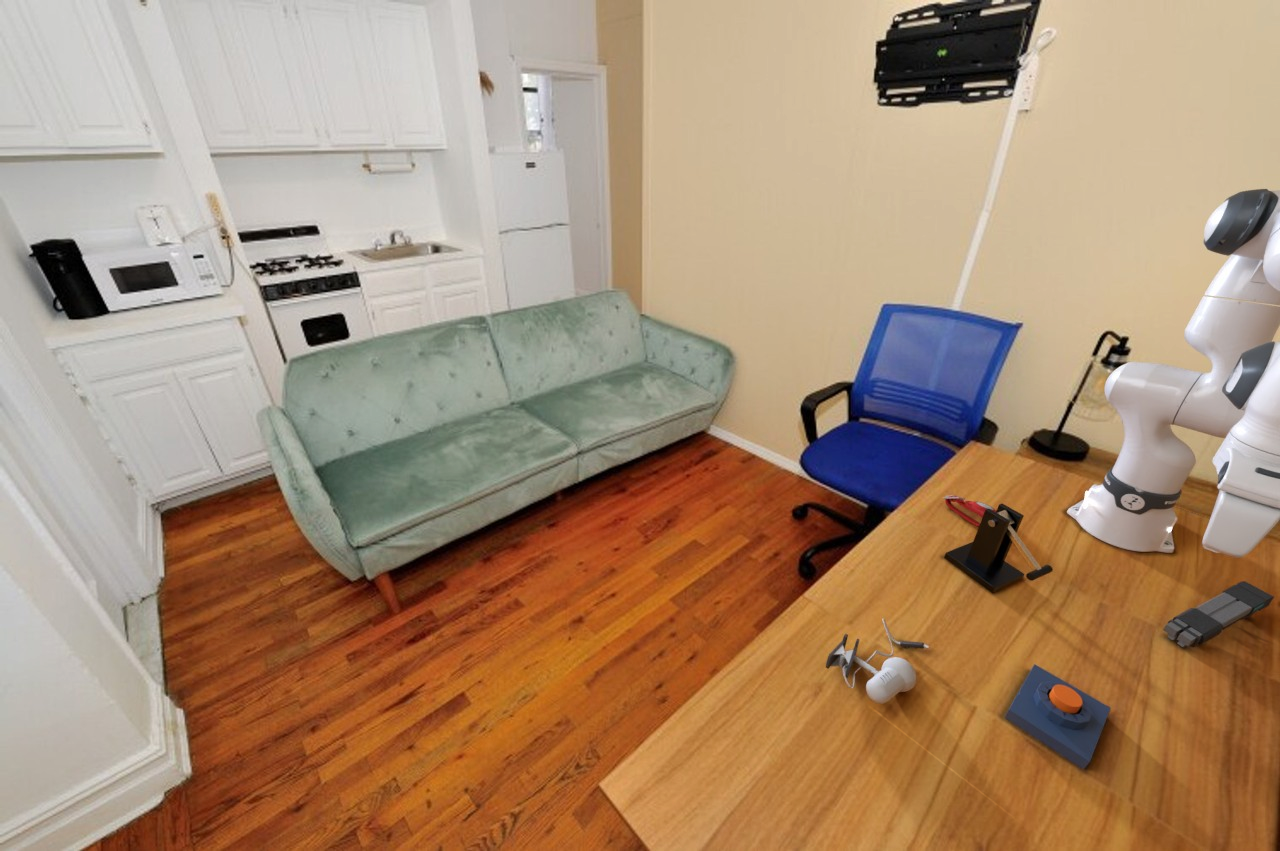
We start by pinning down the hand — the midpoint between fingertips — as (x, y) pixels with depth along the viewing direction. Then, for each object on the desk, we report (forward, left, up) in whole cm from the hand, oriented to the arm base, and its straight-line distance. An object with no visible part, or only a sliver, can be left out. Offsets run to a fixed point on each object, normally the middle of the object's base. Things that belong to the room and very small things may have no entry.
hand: (1212, 546), depth 70 cm
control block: (+16, -5, -29) cm, 33 cm away
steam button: (+16, -5, -25) cm, 30 cm away
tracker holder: (-28, -33, -29) cm, 53 cm away
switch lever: (-9, -21, -20) cm, 30 cm away
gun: (-24, +8, -29) cm, 39 cm away
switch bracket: (-10, -25, -29) cm, 39 cm away
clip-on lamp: (+29, -27, -29) cm, 49 cm away
